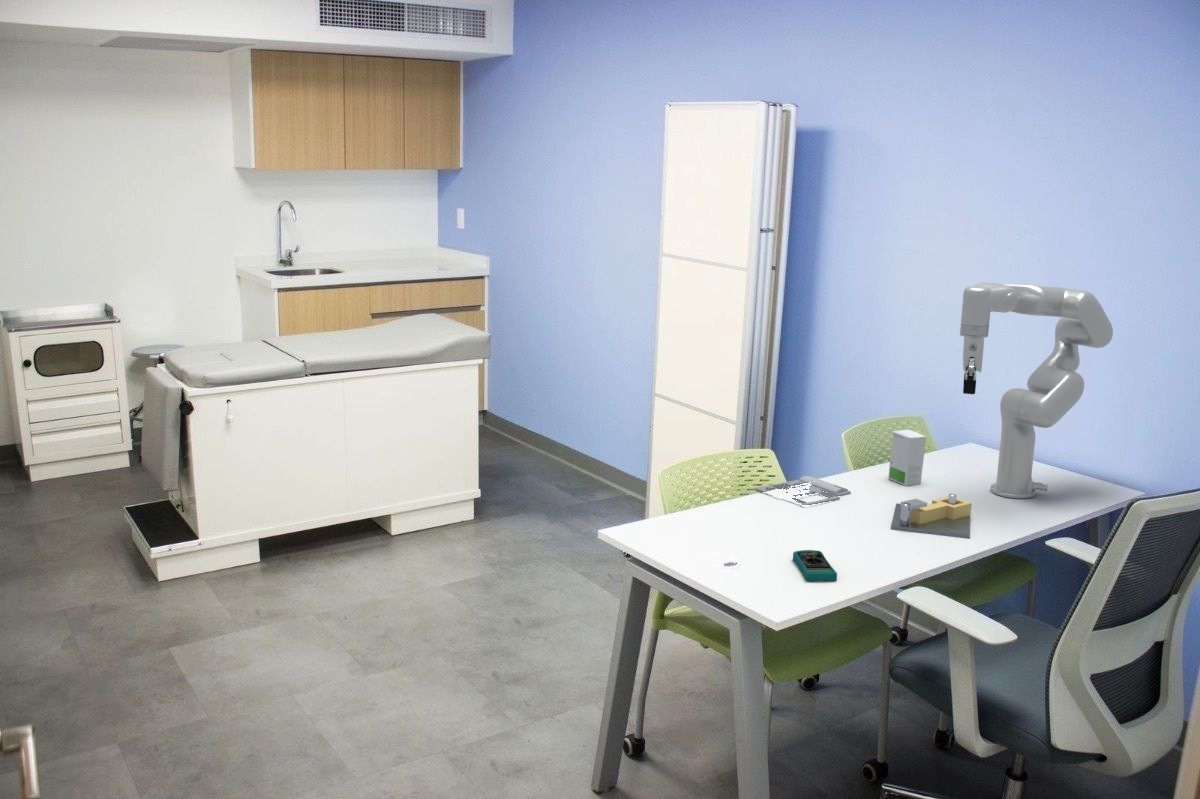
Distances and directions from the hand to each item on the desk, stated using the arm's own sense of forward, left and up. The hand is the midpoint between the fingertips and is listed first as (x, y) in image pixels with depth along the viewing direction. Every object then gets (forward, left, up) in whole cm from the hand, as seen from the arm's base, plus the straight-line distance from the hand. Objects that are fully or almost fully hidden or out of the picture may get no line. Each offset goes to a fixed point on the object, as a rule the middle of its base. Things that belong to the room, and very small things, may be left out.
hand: (969, 390), depth 297 cm
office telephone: (+43, +7, -34) cm, 55 cm away
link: (+5, +19, -32) cm, 38 cm away
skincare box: (+16, -15, -34) cm, 40 cm away
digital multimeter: (+32, +67, -34) cm, 82 cm away
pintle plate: (+7, +21, -33) cm, 40 cm away
